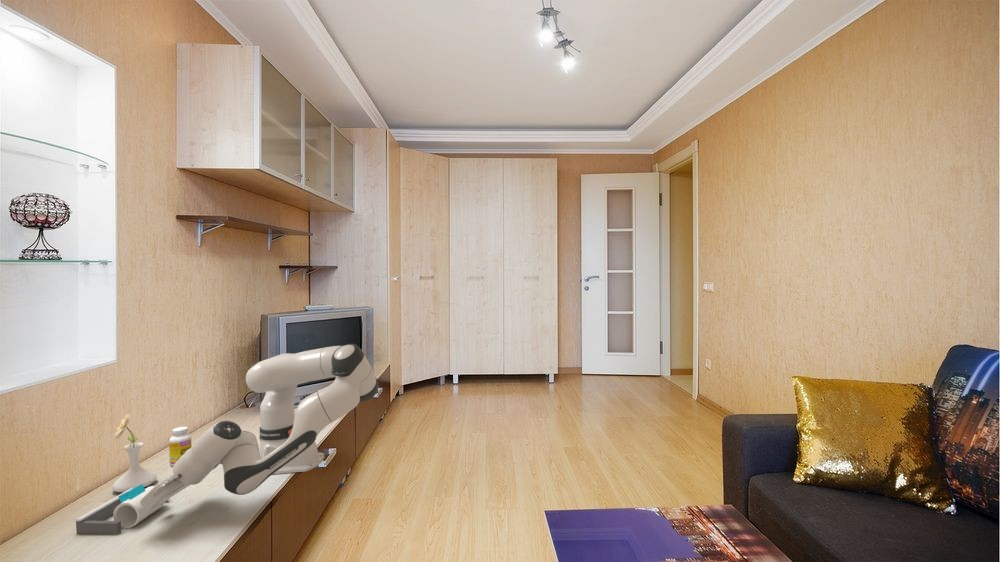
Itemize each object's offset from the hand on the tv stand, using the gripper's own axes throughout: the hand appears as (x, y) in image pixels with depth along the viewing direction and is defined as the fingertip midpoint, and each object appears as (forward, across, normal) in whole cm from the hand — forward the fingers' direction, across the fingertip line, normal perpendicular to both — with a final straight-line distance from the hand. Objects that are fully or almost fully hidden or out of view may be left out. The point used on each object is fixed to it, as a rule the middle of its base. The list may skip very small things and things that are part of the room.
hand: (161, 501), depth 127 cm
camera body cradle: (+11, 0, +5) cm, 12 cm away
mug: (+9, 0, +2) cm, 9 cm away
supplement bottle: (+19, +35, +13) cm, 41 cm away
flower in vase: (+20, +16, +13) cm, 28 cm away
